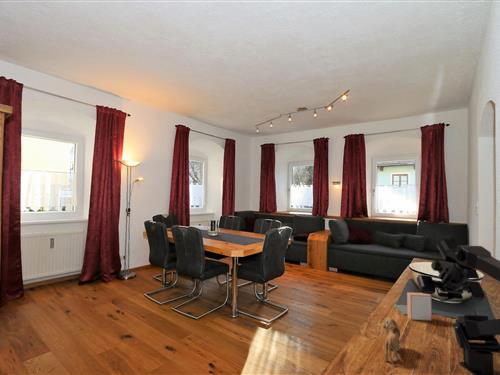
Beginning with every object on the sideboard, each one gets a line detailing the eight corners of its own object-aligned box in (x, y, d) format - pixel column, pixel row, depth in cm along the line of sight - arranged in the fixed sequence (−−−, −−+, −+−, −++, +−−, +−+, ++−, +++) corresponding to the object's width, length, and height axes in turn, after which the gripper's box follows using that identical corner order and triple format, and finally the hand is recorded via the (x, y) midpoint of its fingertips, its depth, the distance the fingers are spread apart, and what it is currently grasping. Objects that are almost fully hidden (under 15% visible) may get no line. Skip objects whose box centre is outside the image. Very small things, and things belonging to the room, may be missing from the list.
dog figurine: (381, 341, 96) (381, 314, 97) (399, 344, 94) (398, 317, 95) (384, 365, 83) (383, 334, 83) (404, 369, 81) (403, 337, 81)
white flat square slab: (428, 315, 116) (428, 314, 116) (403, 314, 117) (403, 313, 117) (416, 306, 126) (416, 305, 126) (393, 305, 127) (393, 304, 127)
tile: (432, 321, 112) (431, 295, 112) (411, 320, 112) (410, 295, 113) (427, 317, 115) (427, 293, 115) (407, 316, 116) (407, 292, 116)
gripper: (480, 257, 93) (461, 284, 103) (419, 251, 97) (407, 277, 107) (496, 287, 85) (474, 312, 94) (428, 278, 89) (414, 304, 98)
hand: (440, 300), depth 99 cm, fingers closed
